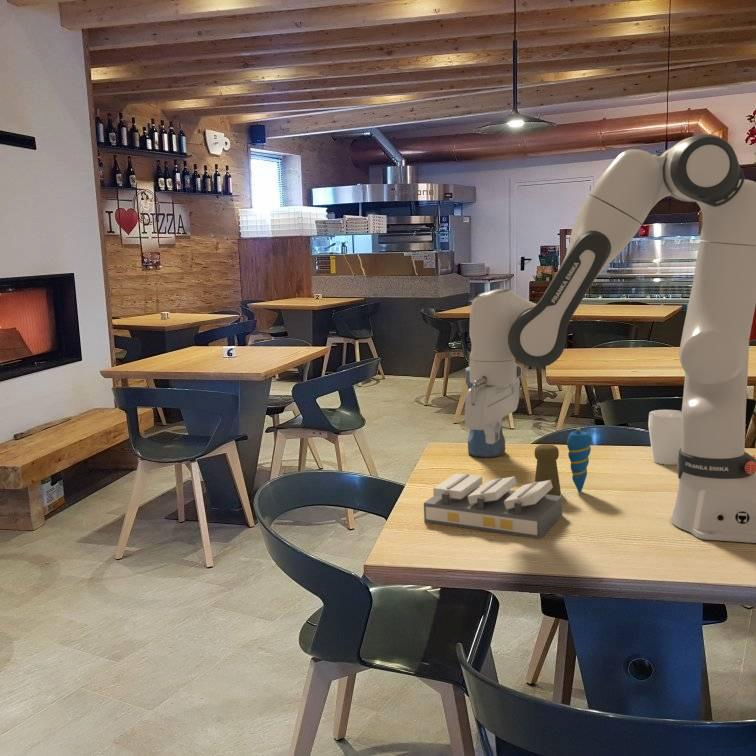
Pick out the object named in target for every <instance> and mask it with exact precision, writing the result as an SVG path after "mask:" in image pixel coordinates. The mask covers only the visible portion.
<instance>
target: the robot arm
mask: <svg viewBox="0 0 756 756" xmlns="http://www.w3.org/2000/svg"><path fill="white" fill-rule="evenodd" d="M665 198H666V199H670V200H675V201H678V202H691V203H696V204H697V205H698V206H699V209H700V210H701V212H700V213H701V217H702V220H701V221H702V225H701V231H700V235H699V242H698V248H697V254H696V262H695V266H694V267H695V268H694V273H693V275H694V276H693V280H692V285H691V290H690V294H689V295H690V296H689V300H688V305H687V309H686V313H685V319H684V322H683V323H684V324H683V329H682V335H681V340H680V345H679V350H678V352H679V353H678V356H679V362H680V365H681V367H682V369H683V370H684V381H683V383H684V384H683V395H682V405H681V411H682V422H681V448H680V450H679V454H678V464H677V476H678V479H679V480H678V487H677V493H676V498H675V503H674V508H673V511H672V514H671V516H670V522H671V523H672V524H673V525H674V526H676V527H677V528H678V529H681V530H683V531H686V532H689V533H691V534H692V535H694V536H695V537H696V538H697V539H700V540H707V541H724V542H734V543H736V542H737V543H738V542H739V543H751V544H756V456H755V454H752V455H751V454H749V453H748V452H746V451H745V449H746V448H745V444H746V441H745V440H746V420H747V419H746V416H747V415H746V412H747V397H748V396H747V395H748V394H747V393H748V375H749V374H748V373H749V356H750V355H749V354H750V337H751V331H752V327H753V326H752V325H753V321H754V315H755V310H756V181H754V180H751V179H745V175H744V172H743V169H742V167H741V165H740V163H739V160H738V157H737V154H736V151H735V150H734V148H733V147H732V145H731V144H730V143H729V142H728V141H727V140H725V138H722V137H720V136H718V135H714V134H706V133H705V134H699V135H693V136H690V137H687V138H684V139H681V140H680V141H679V142H677V143H676V144H674V145H672V146H671V147H669V148H667V149H666V150H665V151H663V152H661V153H659V154H658V155H654V154H652V153H651V152H649V151H646V150H642V149H635V148H633V149H627V150H624V151H622V152H620V153H619V154H618V155H617V156H616V157H615V159H614V160H613V161H612V162H611V163H610V164H609V165H608V166H607V167H606V169H605V170H604V171H603V173H602V174H601V175H600V177H599V178H598V180H597V181H596V183H594V185H593V186H592V189H591V190H590V191H589V193H588V195H587V196H586V198H585V200H584V201H583V204H582V205H581V207H580V209H579V211H578V213H577V216H576V218H575V221H574V223H573V226H572V229H571V233H570V237H569V244H568V247H567V250H566V251H567V252H566V254H565V257H564V259H563V261H562V263H561V265H560V267H559V269H558V271H557V272H556V274H555V275H554V277H553V278H552V280H551V282H550V283H549V285H548V287H547V288H546V290H545V292H544V294H543V295H542V297H541V298H540V299H539V301H538V302H537V303H536V302H532V301H530V300H528V299H525V298H524V297H521V296H520V295H518V294H517V293H515V292H514V291H513V290H512V289H509V288H499V289H498V288H497V289H493V290H487V291H484V292H481V293H479V294H477V296H475V297H474V299H473V300H472V302H471V305H470V311H469V331H468V332H469V335H468V336H469V338H470V344H471V347H472V348H471V347H470V348H471V350H470V353H469V367H470V382H471V383H473V386H472V388H471V389H469V388H468V390H467V393H466V396H465V407H464V425H465V427H466V429H467V430H468V429H469V430H470V429H473V430H484V432H485V435H486V443H487V444H494V443H495V442H497V441H498V440H499V432H500V429H501V425H502V426H503V418H505V417H507V416H509V415H511V414H512V413H514V412H515V411H517V409H518V406H519V402H520V384H521V382H520V381H521V380H520V377H522V374H523V368H522V366H521V365H519V364H518V363H520V364H522V365H523V366H526V367H529V368H537V369H538V368H545V367H548V366H550V365H552V364H553V363H555V362H556V361H557V360H558V359H559V358H560V357H561V356H562V353H564V351H565V347H566V341H567V336H568V335H567V334H568V329H569V324H570V321H571V320H572V319H573V318H572V317H573V316H574V314H575V312H576V311H577V309H578V307H579V306H580V304H581V303H582V301H583V299H584V297H585V296H586V295H587V293H588V291H589V289H590V288H591V286H592V284H593V283H594V282H595V280H596V279H597V278H598V276H599V275H600V274H601V273H602V272H603V271H604V270H605V268H606V267H608V266H609V264H610V263H611V262H613V261H614V260H615V259H616V258H617V257H618V256H619V254H620V253H621V252H622V251H623V250H624V249H625V248H626V247H627V246H628V244H629V243H631V241H632V240H633V238H634V237H635V236H636V234H637V233H638V232H639V230H640V228H641V227H642V224H644V222H645V220H646V219H647V217H648V216H649V213H651V210H652V209H653V208H654V207H655V206H656V204H657V203H658V202H659V201H661V200H662V199H665ZM516 361H517V362H518V363H516Z"/></svg>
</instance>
